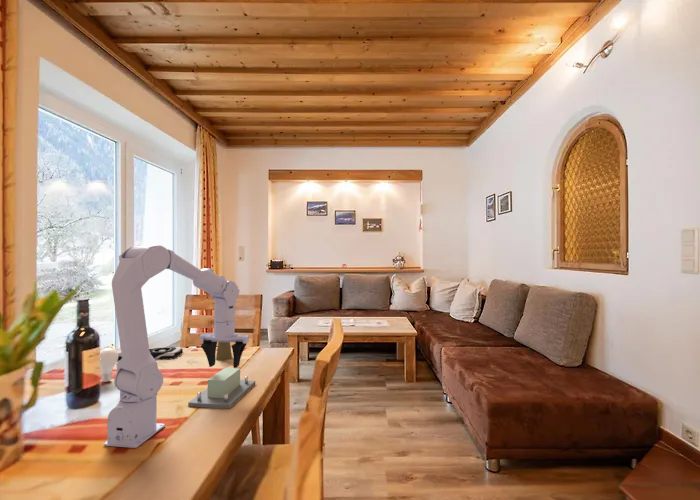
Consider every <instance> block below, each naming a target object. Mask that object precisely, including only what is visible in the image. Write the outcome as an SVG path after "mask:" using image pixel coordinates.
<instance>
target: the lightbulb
mask: <svg viewBox="0 0 700 500" xmlns="http://www.w3.org/2000/svg"><path fill="white" fill-rule="evenodd" d="M99 351H100V358H101V360H100V369H101V370H100V369H99V372H100V376H101V377H100V378H101V382H102V383H108V382H111V380H112V374H113V373H112V372H113V371H114V367H115V365H116V364H117V363H118V361H119V360H118V357H119V356H118V352H117V350H116V349H115V348H112V347H104V348H102V349H100V350H99Z"/></svg>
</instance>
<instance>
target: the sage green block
mask: <svg viewBox="0 0 700 500" xmlns="http://www.w3.org/2000/svg"><path fill="white" fill-rule="evenodd" d="M240 380H241V368H238V367H237V368H234V367H224V368H223V369H221V370H220V371H218V372H217V373H215V374H213V376H211V377H210V378H208V379H207V388H208V397H210V398H224V394H226V393H228V395H229V394H230V393H231V392H232V391H233V390H234V389H235V388H237V387H238V386H239V385H240Z"/></svg>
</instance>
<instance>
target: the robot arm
mask: <svg viewBox="0 0 700 500" xmlns="http://www.w3.org/2000/svg"><path fill="white" fill-rule="evenodd" d="M165 270H170V271H173V272H175V273H177V274H178V275H181V276H183V277H185V278H188V279H190V280H192V284H193V286H194V287H195V288H197V289H199V290H201V291H204V292H205V293H207V294H209V295H210V297H211V298H212V299H214V304H213V305H214V307H213V308H214V309H213V310H214V314H213V317H214V319H213V320H214V323H213V326H214V327H213V328H214V329H213V333H203V334H200V335H199V342H200V343H201V345H200V346H201V347H200V348H202V350H203V352H204V354H205V356H206V359H207V362H208V367H209V368H212V367H213V366H215V365H216V355H217V347H218V342H230V343H233V344H232V345H231V351H232V358H233V359H232V360H233V362H232V364H233V368H238V367H240V362H241V359H242V355H243V353H244V350H245V348H246V346H247V344H248V343H249V342H250V340H249V339H250V335H246V334H245V335H243V334H239V333H235V330H236V329H235V324H236V322H235V319H236V317H235V316H236V315H235V312H236V311H235V310H236V304H237V298H238V297H239V294H240V289H239V286H238V284H237V283H236V282H235V281H234V280H233V281H232V280H227V279H226V277H225V276H223V275H221V276H220V275H219V274H217V273H215V271H214V270H215V269H212V268H210V267H209V268H201V269H200V268H198V267H196V265H194V264H192V263H190V262H189V261H187V260H186V259H184V258H182V257H181V256H180V255H178V254H177V253H175V251H174V250H171V249H169V248H168V249H167V248H166V247H165V246H163V245H161V244H160V245H159V244H155V245H131V246H129V247H128V248H126V249H125V250H124V251H123V252H122V253H121V254H120V255H118V264H117V268H116V270H115V273H114V274H113V277H112V280H111V289H112V295H113V303H114V310H115V317H116V324H117V325H116V326H117V331H118V338H119V346H120V349H121V354H122V359H121V360H118V361H117V362H116V364H115V365H116V373H115V376H114V379H113V384H114V387H115V388H116V389H117V390H119V402H117V404H116V406H115V407H113V408H112V409H111V410H110V411H109V413H108V415H107V437H106V438H107V440H106V441H105V442H104V443H103V446H107V447H116V448H117V447H120V448H129V449H130V448H132V449H134V448H135V449H136V448H138V447H139V446H140V445H142V444H143V443H145V441H147V440H148V439H150V438H151V437H152V436H154V435H155V434H156V433H157V432H159V431H160V430H162V429H163V428H164V427H166V424H165V423H159V422H157V396H158V393H159V391H160V390H161V388H162V386H163V384H164V375H163V373H162V372H161V371H160V369H159V366H158V362H157V361H156V360H157V359H154V358H153V356H152V355H151V354H150V351H149V348H150V345H149V338H148V329H147V322H146V315H145V314H146V313H145V305H144V299H143V292H142V288H143V286H144V285H145V284H146V283H148V281H149V280H150V279H152V278H153V277H155V276H157V275H159V274H161V273H162V272H163V271H165Z"/></svg>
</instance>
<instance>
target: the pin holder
mask: <svg viewBox="0 0 700 500" xmlns="http://www.w3.org/2000/svg"><path fill="white" fill-rule="evenodd" d="M255 385H256V381H255V380H249V376H248V375H245V376H244V380H241V379H240V385H239V386H238V387H237V388H235V389H234V390H233V391H232V392H231V393H230V394H229V395H228V393H226V394H224V398H210V397H208V387H207V388H206V389H204V390H203V391H198V392H197V393H196V394H197V395H196V396H195V397H193V398H192V399H191V400H190V401H188V402H187V403H188V404H187V405H188V407H194V406H195V407H196V408H212V409H227V410H230V409H231V408H232V407H233V406H234V405H235V404H236V403H237V402H238V401H239V400H240V399H242V397H243V396H245V394H247V392H249V391H250V390H251V389H252V388H253V386H255ZM195 407H194V408H195Z"/></svg>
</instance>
